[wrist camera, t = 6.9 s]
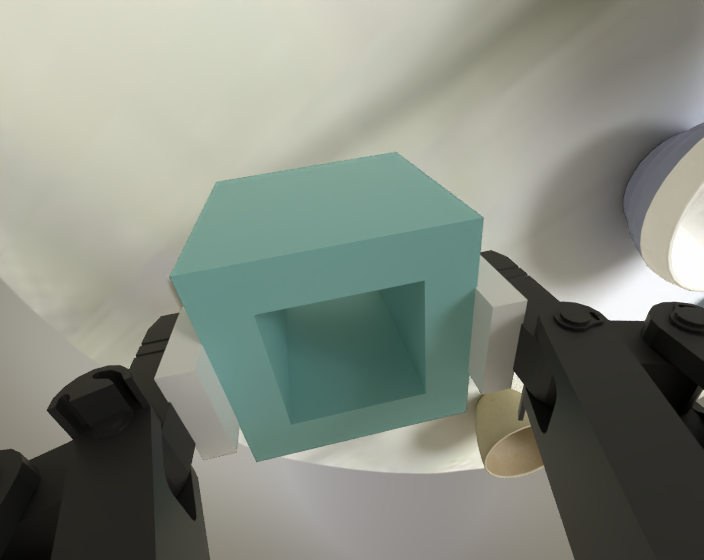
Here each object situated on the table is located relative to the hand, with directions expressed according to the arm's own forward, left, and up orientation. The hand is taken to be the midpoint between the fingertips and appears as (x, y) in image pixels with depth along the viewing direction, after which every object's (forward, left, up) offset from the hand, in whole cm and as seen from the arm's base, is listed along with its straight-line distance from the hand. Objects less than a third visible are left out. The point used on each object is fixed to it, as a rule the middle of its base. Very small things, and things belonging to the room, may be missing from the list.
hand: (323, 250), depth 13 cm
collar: (0, 0, 0) cm, 0 cm away
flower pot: (+33, +18, -15) cm, 41 cm away
